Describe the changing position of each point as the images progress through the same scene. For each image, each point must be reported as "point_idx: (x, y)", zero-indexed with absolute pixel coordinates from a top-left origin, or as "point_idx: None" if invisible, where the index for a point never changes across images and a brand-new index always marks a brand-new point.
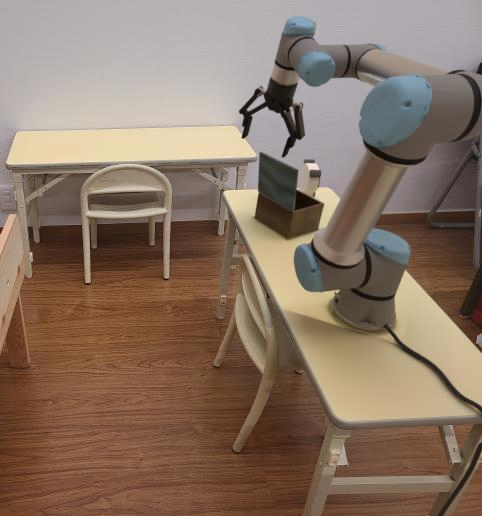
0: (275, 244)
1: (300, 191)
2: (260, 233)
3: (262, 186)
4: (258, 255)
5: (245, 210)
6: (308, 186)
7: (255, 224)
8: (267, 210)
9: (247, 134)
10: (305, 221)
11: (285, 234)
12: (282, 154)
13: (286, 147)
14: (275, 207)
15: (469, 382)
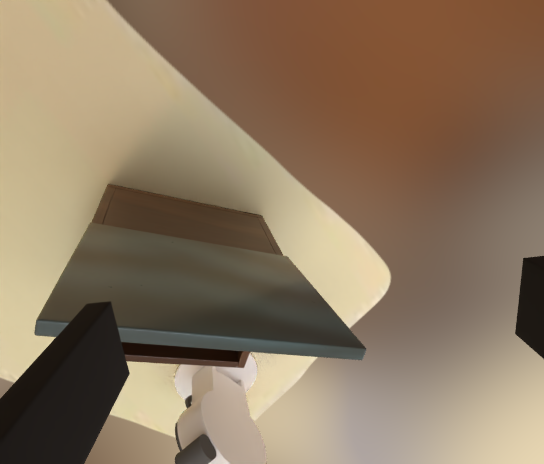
0: (111, 126)
1: (186, 362)
2: (191, 150)
3: (273, 264)
4: (95, 9)
5: (305, 231)
6: (198, 406)
7: (236, 186)
8: (221, 226)
9: (529, 328)
10: None
11: (120, 190)
12: (95, 315)
13: (27, 379)
14: (188, 232)
15: None
